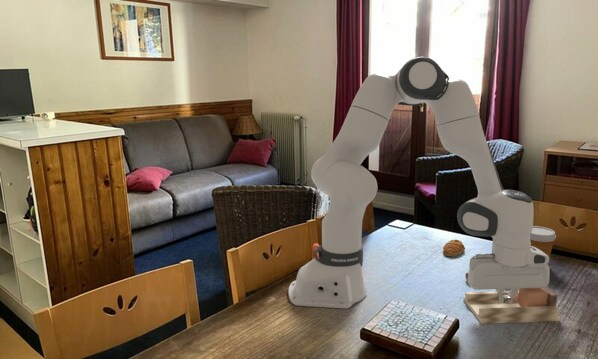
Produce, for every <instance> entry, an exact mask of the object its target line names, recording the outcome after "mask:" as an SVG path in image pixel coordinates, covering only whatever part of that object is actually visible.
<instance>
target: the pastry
mask: <svg viewBox="0 0 598 359" xmlns="http://www.w3.org/2000/svg"><path fill="white" fill-rule="evenodd" d="M465 250H466V247H465V245H464V243H463V241H462V240H459V239H451V240H448V242H446V243H445V244H444V245H443V247H442V252H443V255H444V256H448V257H453V258H455V257H457V256H460V255H462V254H463V253H464V251H465Z"/></svg>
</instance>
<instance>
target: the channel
mask: <svg viewBox="0 0 598 359" xmlns="http://www.w3.org/2000/svg"><path fill="white" fill-rule="evenodd" d="M543 289H544V290H546V291H547V292H548V299H547V306H537V307H523V306H522V305H521V304H520V303H518V293H517V294H516V295H515V296H514V298H513V302H512V303H506V304H501V303H500V302H499V295H498V293H497V291H496V290H495V291H493V290H492V291H490V290H489V291H469V292H468V291H466V292H465V294H464V296H463V302H464V303H465V304H466V306H467V307H468V308H469V310H470V311H471V312H472V314H473V315H474V316H475V317H476V319H477V321H479V322H480V324H481V325H483V324H485V325H487V324H489V325H491V324H508V323H509V324H513V323H516V324H517V323H536V322H537V323H539V322H541V323H542V322H543V323H544V322H545V323H546V322H560V321H561V317H560V316H559V308H560V307H558V306H557V302H558V300H557V299H558V294H556V293H555V292H554V291H553V290H552V289H551V288H549V287H548V285H547V286H546V287H545V288H543ZM509 291H510V290H504V292H502V294H503V295H507V294H508V293H509ZM518 292H519V289H518Z"/></svg>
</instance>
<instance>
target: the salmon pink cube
mask: <svg viewBox="0 0 598 359" xmlns="http://www.w3.org/2000/svg"><path fill="white" fill-rule="evenodd" d="M518 290H519V292H518V303H520V304H521V305H522V306H523V307H537V306H547V299H548V292H547V291H546V290H544V289H543V288H522V289H518Z"/></svg>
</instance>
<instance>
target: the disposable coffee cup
mask: <svg viewBox="0 0 598 359" xmlns="http://www.w3.org/2000/svg"><path fill="white" fill-rule="evenodd" d="M556 238H557V235H556V232H555V230H553V229H552V228H549V227H544V226H539V225H533V229H532V232H531V234H530V242H531V246H533V247H535V248H537V249H539V250H541V251H542V252H544V253H545V254H546V255H547V256H549V258H550V257H551V254H552V250H553V246H554V242H555V240H556ZM547 265H549V262H548V263H547Z"/></svg>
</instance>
